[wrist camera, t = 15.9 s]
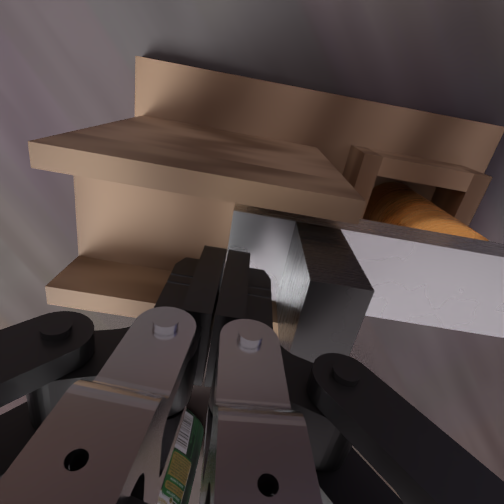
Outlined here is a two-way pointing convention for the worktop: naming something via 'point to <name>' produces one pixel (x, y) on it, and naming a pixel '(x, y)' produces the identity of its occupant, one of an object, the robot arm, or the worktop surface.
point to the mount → (238, 172)
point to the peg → (412, 211)
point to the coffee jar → (183, 462)
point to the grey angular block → (368, 277)
